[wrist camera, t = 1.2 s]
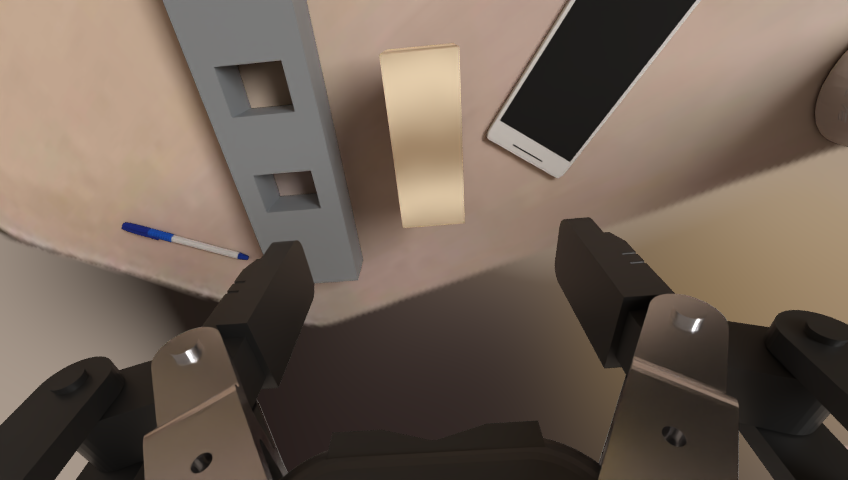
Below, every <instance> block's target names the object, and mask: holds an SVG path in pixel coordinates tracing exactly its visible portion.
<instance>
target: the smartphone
mask: <svg viewBox="0 0 848 480" xmlns="http://www.w3.org/2000/svg"><path fill="white" fill-rule="evenodd" d="M700 1H701V0H569V1H568V2H567V4H566V5H565V7H564V9H563V10H562V12H561V14H560V15H559V17H558V18H557V20H556V22H555V23H554V25H553V26H552V28H551V30H550V31H549V33H548V34H547V36H546V38H545V39H544V41H543V42H542V44H541V46H540V47H539V49H538V50H537V52H536V54H535V55H534V57H533V58H532V60H531V62H530V63H529V65H528V66H527V68H526V70H525V71H524V73H523V74H522V76H521V78H520V79H519V81H518V82H517V84H516V86H515V87H514V89H513V90H512V92H511V94H510V95H509V97H508V98H507V100H506V102H505V103H504V105H503V106H502V108H501V110H500V111H499V113H498V114H497V116H496V118H495V119H494V121H493V122H492V124H491V126H490V127H489V129H488V131H487V138H488V139H489V140H490V141H492V142H494V143H496V144H497V145H499V146H501V147H503V148H505V149H506V150H508V151H510V152H512V153H513V154H515V155H517V156H519V157H520V158H522V159H524V160H526V161H527V162H529V163H531V164H533V165H534V166H536V167H538V168H540V169H541V170H543V171H545V172H547V173H548V174H550V175H552V176H554V177H555V178H560V177H561V176H563V175H564V173H565V172H566V171H567V170H568V169H569V167H570V166H571V165H572V163H573V162H574V161H575V160H576V158H577V157H578V156H579V155H580V153H581V152H582V151H583V149H584V148H585V147H586V146H587V144H588V143H589V142H590V141H591V139H592V138H593V137H594V135H595V134H596V133H597V132H598V130H599V129H600V128H601V127H602V125H603V124H604V123H605V121H606V120H607V119H608V118H609V116H610V115H611V114H612V113H613V111H614V110H615V109H616V107H617V106H618V105H619V104H620V102H621V101H622V100H623V99H624V97H625V96H626V95H627V93H628V92H629V91H630V90H631V88H632V87H633V86H634V85H635V83H636V82H637V81H638V80H639V78H640V77H641V76H642V74H643V73H644V72H645V71H646V69H647V68H648V67H649V66H650V64H651V63H652V62H653V60H654V59H655V58H656V57H657V55H658V54H659V53H660V52H661V50H662V49H663V48H664V46H665V45H666V44H667V43H668V41H669V40H670V39H671V38H672V36H673V35H674V34H675V32H676V31H677V30H678V29H679V27H680V26H681V25H682V24H683V22H684V21H685V20H686V18H687V17H688V16H689V15H690V13H691V12H692V11H693V10H694V8H695V7H696V6H697V4H698V3H699V2H700Z"/></svg>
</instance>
